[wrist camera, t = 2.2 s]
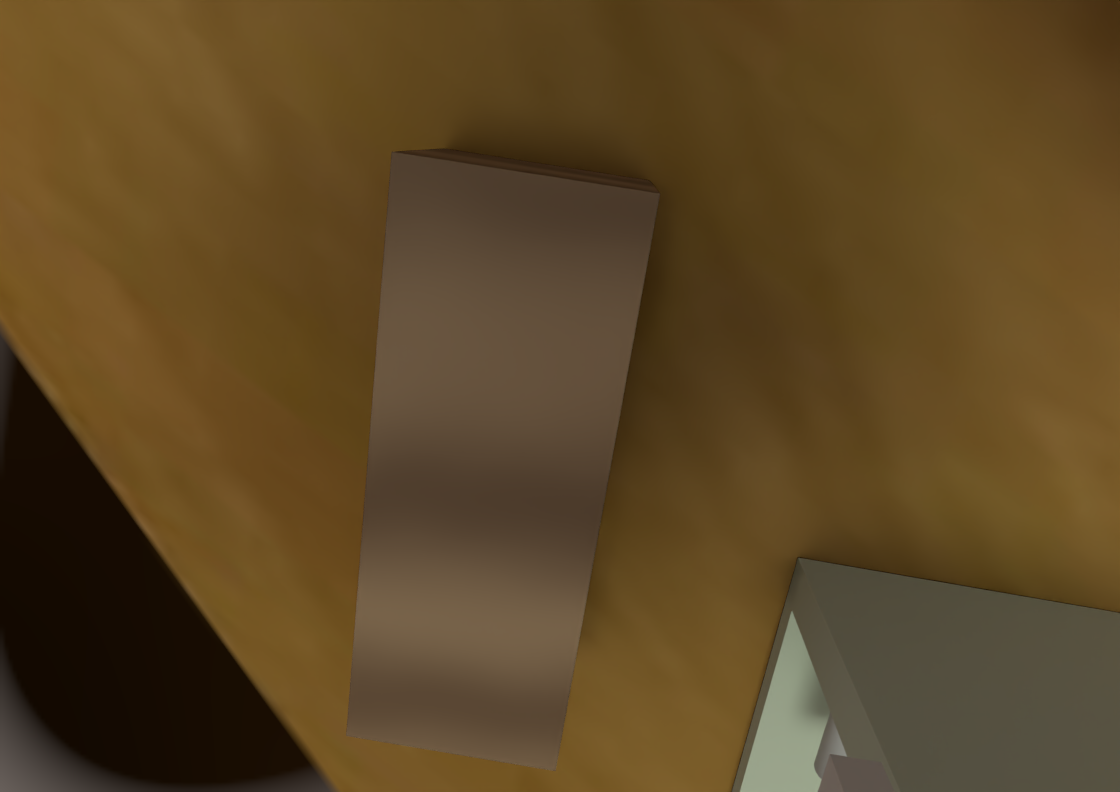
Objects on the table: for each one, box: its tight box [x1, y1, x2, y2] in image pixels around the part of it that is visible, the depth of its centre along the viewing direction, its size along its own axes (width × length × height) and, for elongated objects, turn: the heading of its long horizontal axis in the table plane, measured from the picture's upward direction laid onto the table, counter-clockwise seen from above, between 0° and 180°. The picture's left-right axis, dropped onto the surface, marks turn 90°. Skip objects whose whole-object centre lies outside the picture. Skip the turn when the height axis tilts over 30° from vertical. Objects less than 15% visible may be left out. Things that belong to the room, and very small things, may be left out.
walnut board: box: [346, 149, 660, 771], centre depth 23 cm, size 16×6×6 cm, turn 172°
